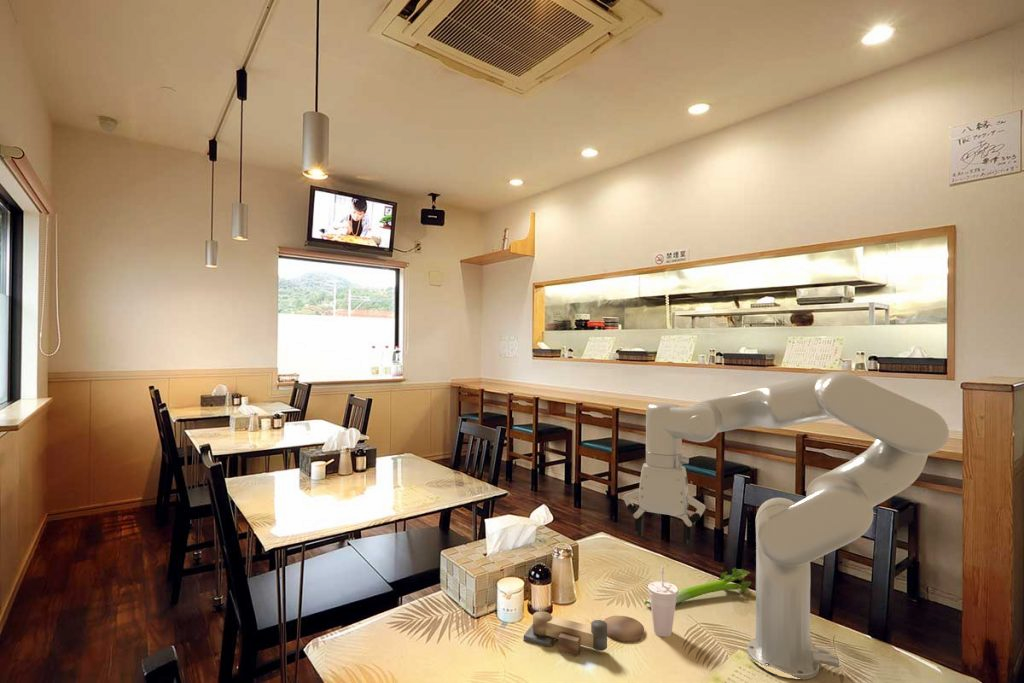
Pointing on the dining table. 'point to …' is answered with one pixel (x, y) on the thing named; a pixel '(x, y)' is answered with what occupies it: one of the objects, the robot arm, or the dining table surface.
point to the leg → (571, 629)
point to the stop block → (569, 644)
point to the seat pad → (624, 628)
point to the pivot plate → (538, 638)
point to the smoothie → (662, 605)
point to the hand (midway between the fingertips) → (662, 538)
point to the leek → (714, 586)
